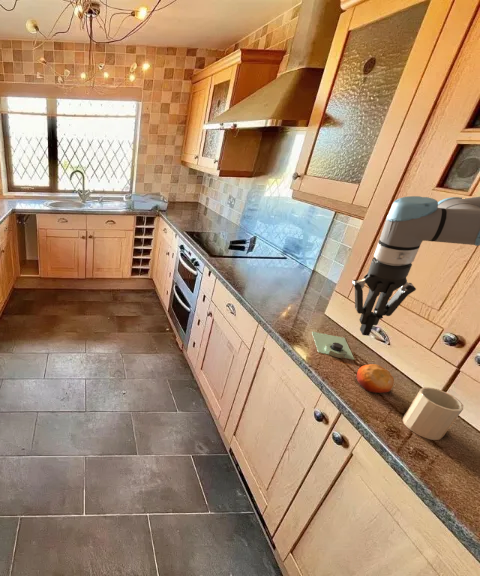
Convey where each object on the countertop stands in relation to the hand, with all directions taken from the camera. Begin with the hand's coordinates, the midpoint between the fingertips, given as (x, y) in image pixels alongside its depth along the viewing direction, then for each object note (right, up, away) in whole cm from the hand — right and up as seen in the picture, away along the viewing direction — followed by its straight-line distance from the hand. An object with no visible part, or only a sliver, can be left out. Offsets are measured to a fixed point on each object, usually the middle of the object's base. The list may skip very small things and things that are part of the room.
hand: (364, 332), depth 90 cm
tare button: (+1, -7, +12) cm, 14 cm away
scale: (+3, -8, +16) cm, 19 cm away
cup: (+4, -22, -12) cm, 26 cm away
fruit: (+2, -16, 0) cm, 16 cm away
